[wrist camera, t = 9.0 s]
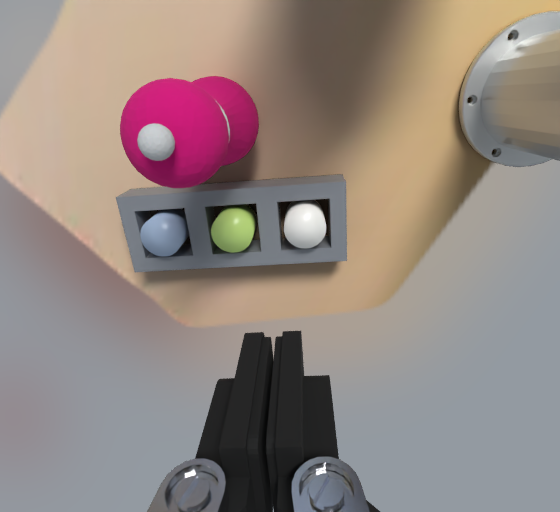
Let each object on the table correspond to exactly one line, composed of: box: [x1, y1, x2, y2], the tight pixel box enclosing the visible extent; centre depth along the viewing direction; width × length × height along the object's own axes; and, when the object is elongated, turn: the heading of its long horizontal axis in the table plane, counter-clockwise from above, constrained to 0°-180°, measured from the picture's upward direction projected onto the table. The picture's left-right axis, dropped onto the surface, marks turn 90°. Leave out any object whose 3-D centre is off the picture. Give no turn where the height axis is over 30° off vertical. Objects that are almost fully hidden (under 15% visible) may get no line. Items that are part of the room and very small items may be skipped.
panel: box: [116, 174, 347, 272], centre depth 38 cm, size 22×8×4 cm, turn 95°
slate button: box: [140, 208, 189, 257], centre depth 38 cm, size 4×4×4 cm
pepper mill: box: [120, 76, 259, 188], centre depth 27 cm, size 7×7×20 cm
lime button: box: [211, 204, 257, 253], centre depth 38 cm, size 4×4×4 cm
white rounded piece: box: [284, 200, 326, 248], centre depth 37 cm, size 4×4×4 cm
